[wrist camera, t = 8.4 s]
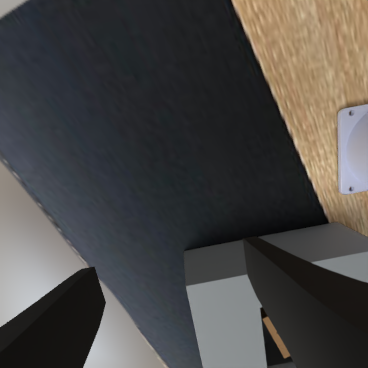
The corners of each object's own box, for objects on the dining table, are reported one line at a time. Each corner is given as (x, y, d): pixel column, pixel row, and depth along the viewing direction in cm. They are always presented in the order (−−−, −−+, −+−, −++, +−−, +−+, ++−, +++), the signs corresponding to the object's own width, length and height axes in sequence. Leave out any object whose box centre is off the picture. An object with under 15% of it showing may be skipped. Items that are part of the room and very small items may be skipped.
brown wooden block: (271, 272, 21) (294, 303, 17) (289, 307, 22) (314, 344, 18) (245, 285, 21) (262, 319, 17) (264, 319, 22) (284, 358, 18)
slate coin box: (336, 222, 20) (388, 247, 15) (338, 331, 23) (382, 382, 18) (183, 251, 20) (186, 286, 15) (205, 357, 23) (212, 414, 18)
